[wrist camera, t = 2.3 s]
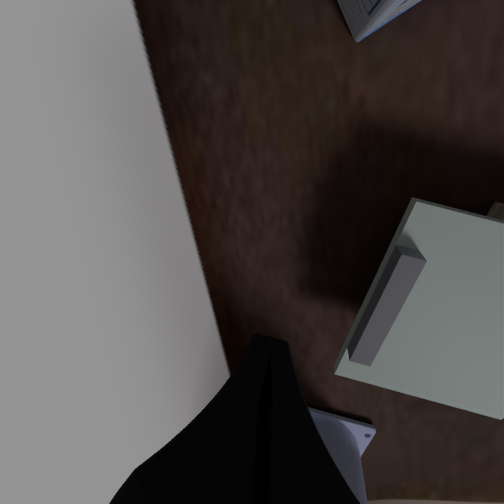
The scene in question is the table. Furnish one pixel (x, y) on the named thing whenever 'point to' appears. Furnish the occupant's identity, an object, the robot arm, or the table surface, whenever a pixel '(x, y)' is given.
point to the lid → (435, 312)
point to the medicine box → (371, 14)
